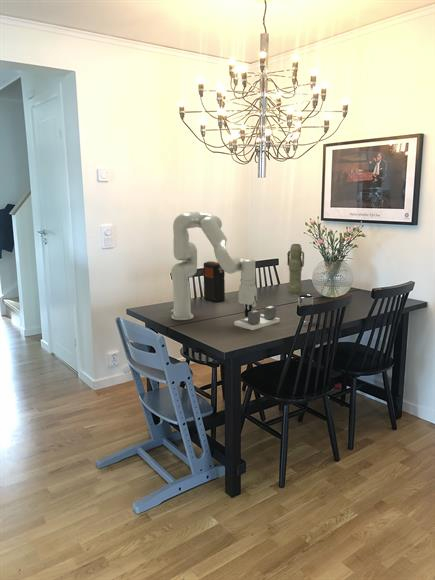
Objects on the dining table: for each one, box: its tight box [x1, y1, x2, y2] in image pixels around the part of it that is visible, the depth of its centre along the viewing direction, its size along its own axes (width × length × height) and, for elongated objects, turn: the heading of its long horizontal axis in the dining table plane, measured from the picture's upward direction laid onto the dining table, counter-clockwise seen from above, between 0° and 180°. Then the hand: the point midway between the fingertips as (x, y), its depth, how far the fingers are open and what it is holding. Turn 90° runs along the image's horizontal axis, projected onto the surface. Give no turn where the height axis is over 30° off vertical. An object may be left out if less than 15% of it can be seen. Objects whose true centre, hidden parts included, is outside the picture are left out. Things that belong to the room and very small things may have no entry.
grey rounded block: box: [247, 309, 261, 324], centre depth 243 cm, size 4×5×6 cm
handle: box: [263, 305, 277, 320], centre depth 252 cm, size 4×5×6 cm
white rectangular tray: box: [233, 313, 281, 331], centre depth 251 cm, size 13×22×2 cm, turn 133°
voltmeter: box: [203, 260, 226, 303], centre depth 305 cm, size 16×9×25 cm, turn 34°
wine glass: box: [297, 294, 314, 324], centre depth 250 cm, size 8×8×15 cm
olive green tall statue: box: [286, 243, 305, 296], centre depth 317 cm, size 9×12×35 cm
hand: (248, 316), depth 246 cm, fingers closed
